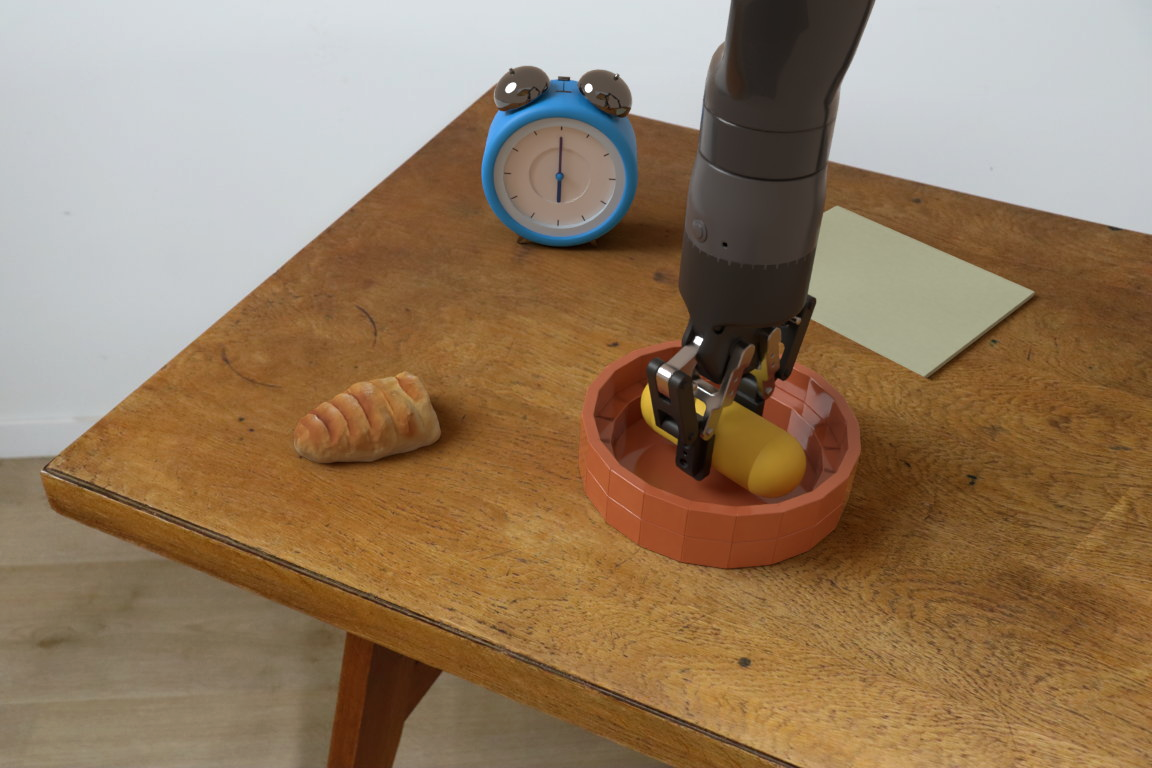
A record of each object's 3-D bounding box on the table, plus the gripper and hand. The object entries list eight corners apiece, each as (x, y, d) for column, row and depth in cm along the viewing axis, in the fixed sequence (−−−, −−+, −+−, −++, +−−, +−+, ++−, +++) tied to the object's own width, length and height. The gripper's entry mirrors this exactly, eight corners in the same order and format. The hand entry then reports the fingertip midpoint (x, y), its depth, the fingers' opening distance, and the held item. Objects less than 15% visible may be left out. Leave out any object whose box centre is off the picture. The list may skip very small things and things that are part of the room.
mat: (836, 209, 105) (837, 205, 104) (1033, 296, 94) (1035, 291, 93) (700, 284, 93) (700, 279, 93) (907, 393, 82) (909, 388, 82)
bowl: (695, 365, 84) (702, 310, 81) (896, 482, 74) (913, 424, 71) (524, 470, 73) (525, 411, 70) (732, 621, 64) (744, 561, 61)
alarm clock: (481, 246, 96) (479, 80, 87) (487, 212, 101) (487, 51, 92) (631, 254, 96) (646, 89, 87) (630, 219, 101) (644, 60, 92)
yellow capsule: (624, 428, 75) (629, 376, 72) (667, 401, 77) (673, 349, 75) (772, 523, 68) (782, 469, 65) (813, 490, 71) (825, 437, 68)
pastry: (315, 490, 71) (309, 445, 69) (281, 431, 76) (274, 386, 73) (449, 447, 75) (447, 402, 73) (409, 393, 80) (406, 349, 77)
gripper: (723, 299, 56) (690, 538, 67) (878, 209, 64) (827, 435, 75) (616, 243, 60) (600, 476, 71) (774, 165, 68) (740, 385, 79)
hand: (717, 454), depth 73 cm, fingers closed on yellow capsule, 4 cm apart
